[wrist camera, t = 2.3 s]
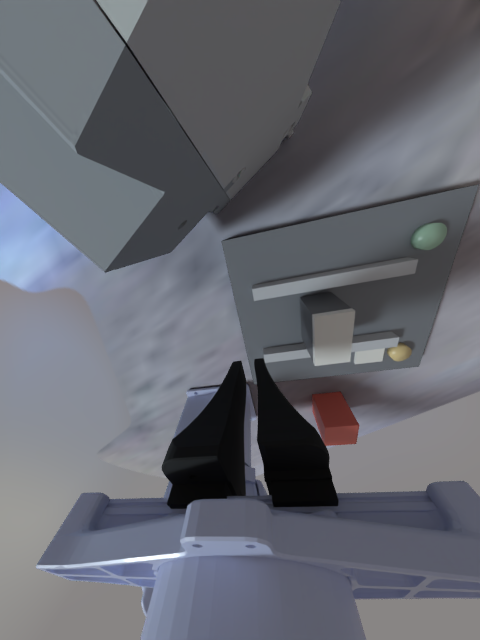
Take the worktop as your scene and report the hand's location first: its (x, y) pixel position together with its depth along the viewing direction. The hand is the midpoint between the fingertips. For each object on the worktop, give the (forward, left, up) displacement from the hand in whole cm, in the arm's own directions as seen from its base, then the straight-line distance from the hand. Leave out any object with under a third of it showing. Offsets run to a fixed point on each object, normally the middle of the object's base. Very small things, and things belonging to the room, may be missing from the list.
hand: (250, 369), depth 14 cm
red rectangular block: (+9, -16, -8) cm, 20 cm away
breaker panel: (+9, 0, -8) cm, 12 cm away
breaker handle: (+7, 0, -7) cm, 10 cm away
